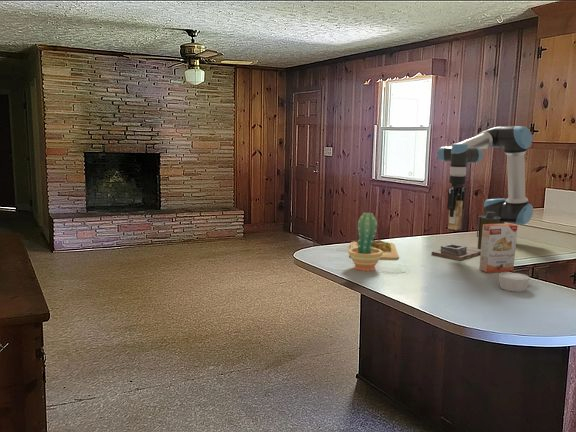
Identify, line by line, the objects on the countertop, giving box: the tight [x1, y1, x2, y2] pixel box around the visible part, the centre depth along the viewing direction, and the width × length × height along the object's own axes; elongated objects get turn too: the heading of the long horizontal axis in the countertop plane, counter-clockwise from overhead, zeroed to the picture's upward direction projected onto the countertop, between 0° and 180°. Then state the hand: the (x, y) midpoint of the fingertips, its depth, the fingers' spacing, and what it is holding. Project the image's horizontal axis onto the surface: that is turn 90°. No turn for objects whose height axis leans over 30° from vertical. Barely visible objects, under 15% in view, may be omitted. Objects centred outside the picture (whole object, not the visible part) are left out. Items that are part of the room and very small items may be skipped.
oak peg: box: [447, 200, 463, 231], centre depth 263 cm, size 4×4×14 cm
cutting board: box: [349, 239, 400, 261], centre depth 274 cm, size 35×23×8 cm
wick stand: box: [431, 243, 481, 261], centre depth 270 cm, size 24×16×4 cm, turn 133°
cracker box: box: [478, 222, 518, 274], centre depth 236 cm, size 14×6×21 cm, turn 105°
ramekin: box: [498, 272, 531, 293], centre depth 210 cm, size 11×11×5 cm
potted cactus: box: [347, 212, 383, 272], centre depth 239 cm, size 15×15×25 cm
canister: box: [476, 212, 501, 249], centre depth 278 cm, size 11×10×20 cm
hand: (454, 222), depth 264 cm, fingers closed on oak peg, 4 cm apart
